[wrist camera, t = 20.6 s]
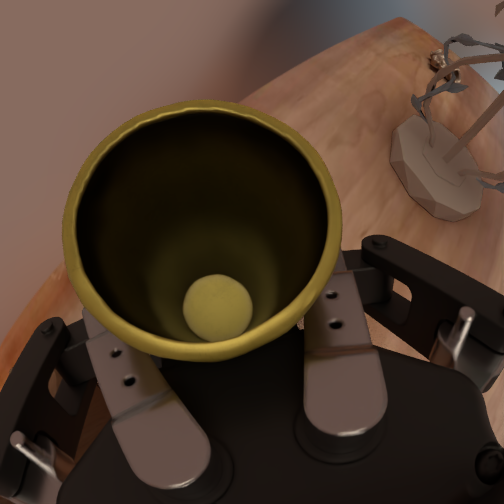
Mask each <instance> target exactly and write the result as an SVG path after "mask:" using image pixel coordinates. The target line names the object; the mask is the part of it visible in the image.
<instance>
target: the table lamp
mask: <svg viewBox="0 0 504 504" xmlns="http://www.w3.org/2000/svg"><path fill="white" fill-rule="evenodd" d="M503 8H504V1H503V2H501V3H499V4H498V5H496V11H495V17H496V16H497V15H498V13H499V12H500V11H501V10H502V9H503ZM453 42H460V43H462V44H463V45H465V46H474V45H483V46H486V47H489V48H493V49H496V50H499V52H500V53H501V54H489V55H479V56H472V57H464V58H462V59H460V60H458V61H456V62H454V63H452V64H449V62H448V47H449V44H451V43H453ZM444 59H445V62H446V64H447V66H446V67H444V68H442V69H440V70H438V72H437V73H436V74H435V76H434V77H433V78H432V80H431V81H430V82H429V84H428V85H427V89H426V94H425V95H423V96H421V97H419V98H418V99H417V98H416V96H415V95H414V94H413V95H412V97H411V103H412V105H413V107H414V108H415V109H416V110H417V111H418V112H419V113H420V115H421V117H420V116H417V115H412V116H411V117H410V118H408V119H407V120H406V121H405V122H403V123H402V124H401V125H400V126H398V127H397V128H396V129H395V130H394V131H393V133H392V145H391V156H390V163H391V165H392V167H393V168H394V170H395V171H396V173H397V175H398V176H399V178H400V180H401V181H402V183H403V185H404V187H405V188H406V190H407V192H408V194H409V195H410V196H411V197H412V198H413V199H414V200H415V201H417V202H418V203H419V204H420V205H421V206H422V207H424V208H425V209H426V210H427V211H428V212H429V213H430V214H431V215H433V216H434V217H436V218H440V219H444V220H448V221H451V222H456V221H458V220H461V219H463V218H465V217H468V216H469V215H471V214H472V213H474V212H475V211H477V210H478V209H479V208H480V205H481V199H482V194H483V188H490V189H497V190H498V191H500V192H502V193H504V182H503V183H498V184H497V185H495V186H493V185H491V184H488V183H486V182H483V181H482V179H481V177H484V178H489V179H494V180H499V181H503V180H504V171H503V172H500V173H497V174H493V173H488V172H482V171H479V169H478V166H477V164H476V162H475V161H474V159H473V157H472V156H471V154H470V152H469V151H468V149H467V148H466V145H467V143H468V142H469V141H470V140H471V139H472V138H473V137H474V136H475V135H476V134H477V133H478V132H479V131H480V130H481V129H482V128H483V127H484V126H485V125H486V124H487V123H488V122H489V121H490V120H491V119H492V118H493V116H494V115H495V114H496V113H497V112H498V111H499V110H500V109H501V108H502V107H503V106H504V90H503V91H502V92H501V93H500V95H499V96H498V97H497V98H496V99H495V101H494V102H493V103H492V104H491V105H490V106H489V107H488V109H487V110H486V111H485V112H484V113H483V114H482V115H481V117H480V118H479V119H478V120H477V121H476V122H475V123H474V124H473V126H472V127H471V128H470V129H469V130H468V131H467V132H466V133H465V134H464V135H463V136H462V137H461V139H460V140H459V139H458V138H457V137H456V136H455V135H454V134H452V133H451V132H450V131H449V130H448V129H447V128H446V127H444V126H443V125H442V124H441V123H438V122H435V121H433V120H432V116H431V112H430V108H429V105H430V102H431V99H432V96H434V95H436V94H439V93H441V92H443V91H448V92H451V93H458V92H460V91H463V90H464V89H466V88H467V87H468V86H466V85H462V84H459V83H453V82H454V80H455V78H456V76H455V74H454V72H453V71H454V70H455V69H457V68H458V67H459V66H462V65H469V64H477V63H486V62H497V61H502V67H503V69H501V70H499V72H498V73H497V74H496V76H495V77H494V79H499V80H504V46H503V45H500V44H498V43H495V45H493V44H488V43H482V42H479V41H476V40H473V38H472V37H470V36H469V35H467V34H460V35H458V36H456V37H451V38H450V39H448V41H446V42H445V43H444ZM449 73H451V74H452V75H451V80H450V81H449V82H447V83H445V84H443V85H442V86H440V87H438V88H436V89H435V87H436V83H437V82H438V81H439V80H441V79H442V78H444V77H445V76H446V75H448V74H449ZM423 100H424V103H423V106H424V110H425V114H426V118H427V119H426V118H425V116H424V115H423V113H422V110H421V107H422V105H421V102H422V101H423Z"/></svg>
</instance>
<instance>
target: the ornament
mask: <svg viewBox="0 0 504 504" xmlns="http://www.w3.org/2000/svg"><path fill="white" fill-rule="evenodd" d="M442 52H443V51H442V50H441V49H439V50H436V51H434V52H433V51H431V53H430V57H431V61H432V62H431V65H432V66H434V67H435V68H437V69H439V70H440V69H442V68H444V67H446V66H447V64H446V62H445V59H444V54H442ZM448 62H449V64H452V63H454V62H453V61H452V60H451V59H450V58H448ZM453 72H454V74H455V76H456V78H455V80H454V82H453V83H459V84H460V82H461V74H460V69H459V67H458V68H457V69H455V70H454V71H453ZM451 75H452V74H451V73H449V74H448V75H446V76H445V77H446V79H447V80H448V81H450V80H451Z"/></svg>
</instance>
